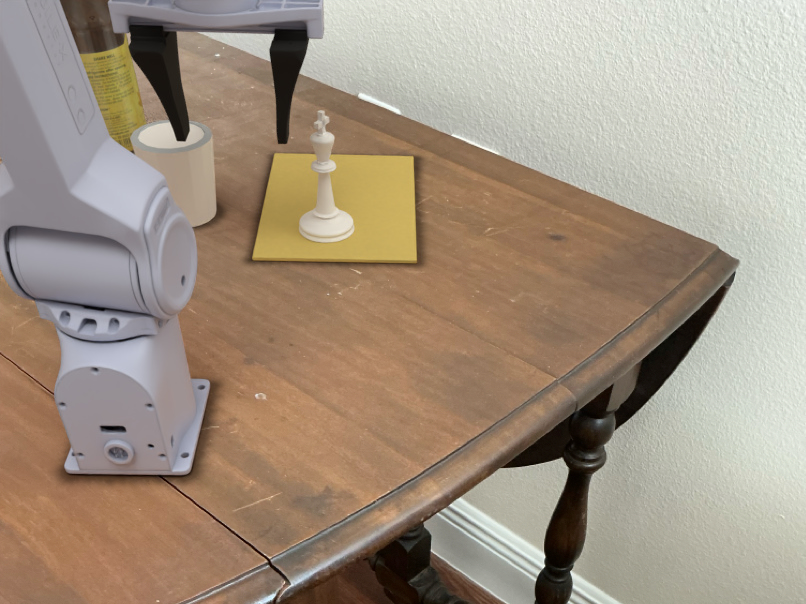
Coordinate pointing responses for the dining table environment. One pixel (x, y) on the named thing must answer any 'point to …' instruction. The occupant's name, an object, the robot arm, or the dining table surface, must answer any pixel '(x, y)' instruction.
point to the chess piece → (324, 193)
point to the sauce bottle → (107, 67)
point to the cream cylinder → (182, 165)
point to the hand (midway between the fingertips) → (233, 137)
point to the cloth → (354, 194)
